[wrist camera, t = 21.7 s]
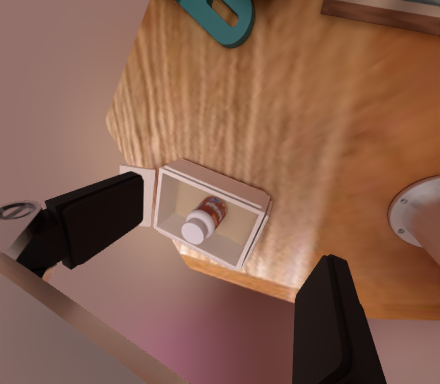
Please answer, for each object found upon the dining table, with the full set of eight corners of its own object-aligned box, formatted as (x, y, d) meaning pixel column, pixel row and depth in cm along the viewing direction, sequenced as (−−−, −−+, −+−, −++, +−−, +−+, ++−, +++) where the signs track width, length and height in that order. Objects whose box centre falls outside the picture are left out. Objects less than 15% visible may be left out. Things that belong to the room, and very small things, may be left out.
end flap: (155, 170, 35) (119, 165, 34) (150, 226, 42) (120, 224, 41) (155, 169, 36) (120, 163, 34) (150, 224, 43) (121, 222, 41)
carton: (276, 193, 37) (271, 211, 31) (248, 251, 45) (240, 275, 39) (180, 155, 42) (159, 163, 35) (171, 214, 50) (153, 230, 44)
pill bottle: (233, 210, 42) (214, 239, 32) (215, 222, 45) (194, 252, 35) (215, 189, 41) (190, 213, 32) (198, 203, 45) (172, 229, 35)
